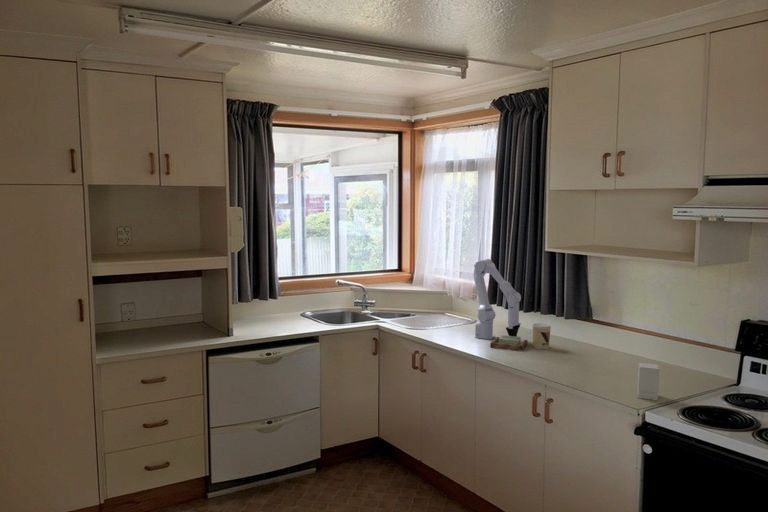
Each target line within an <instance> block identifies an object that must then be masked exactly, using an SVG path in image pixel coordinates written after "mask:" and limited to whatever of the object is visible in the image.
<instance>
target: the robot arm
mask: <svg viewBox="0 0 768 512" xmlns="http://www.w3.org/2000/svg"><path fill="white" fill-rule="evenodd" d="M473 267H474V270H473V273H472V274H473V275H472V276H473V280H474V285H475V290H476V293H477V299H478V304H479V307H478V308H477V312H478V313H477V318H478V320H477V321H476V323H475V326H474V327H475V328H474V329H475V333H474V335H475V337H474V338H476V339H484V340H485V339H486V340H492V339H493V338H496V337H495V335H494V333H493V331H494V320H495V318H496V312H495V311H494V309H493V306H492V305H491V304H490V300H489V295H488V291H487V287H486V282H485V275H486V274H489V275H491V276H492V277H493V279H494V280H495V281H496V282H497V283H498V284H499V289H500V291H501V292H502V293H503V295H504V297H506V302H507V306H508V307H507V308H508V309H507V325H508V326H507V327H505V330H506V332H507V336H516V337H518V336H517V335H518V333H519V329H520V327H521V325H522V323H521V322H520V319H519V318H520V302H521V301H522V295H521V293H519V292H517V291H516V290H515V289H514V288H513V286H512V283H511V282H509V281H507V280H505V279H504V277H503V276H502V275H501V273H500V271H498V269H497V268H496V264H495V263H494V262H493V261H492V260H491V258H486V259H480V260H479V259H478V260H477V261H476V262H475V263H474V264H473Z"/></svg>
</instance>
